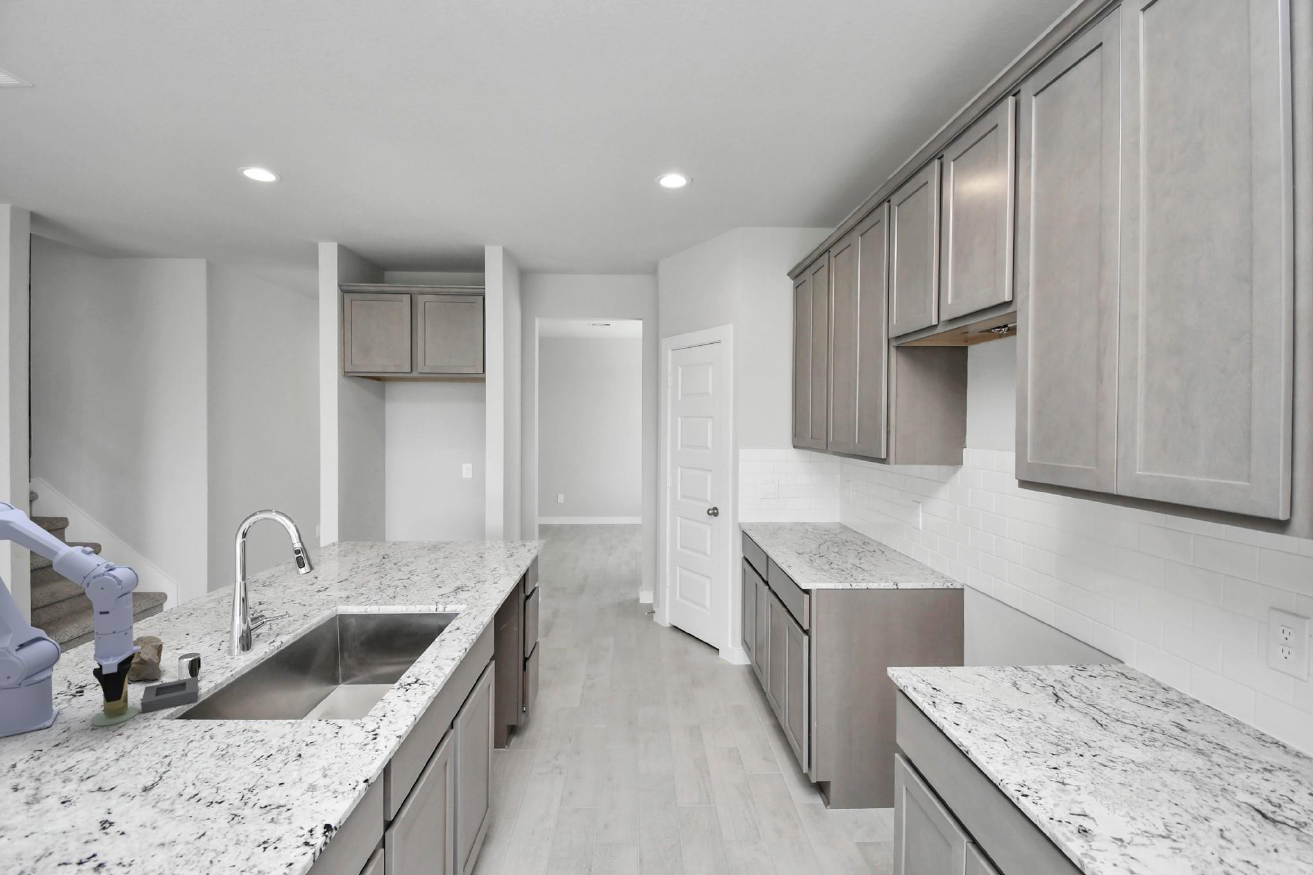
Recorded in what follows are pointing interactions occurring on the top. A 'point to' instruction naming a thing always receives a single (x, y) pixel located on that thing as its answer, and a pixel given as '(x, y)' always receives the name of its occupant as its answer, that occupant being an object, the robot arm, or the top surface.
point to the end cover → (117, 703)
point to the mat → (115, 717)
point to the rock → (146, 659)
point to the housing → (169, 694)
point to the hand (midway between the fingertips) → (115, 696)
